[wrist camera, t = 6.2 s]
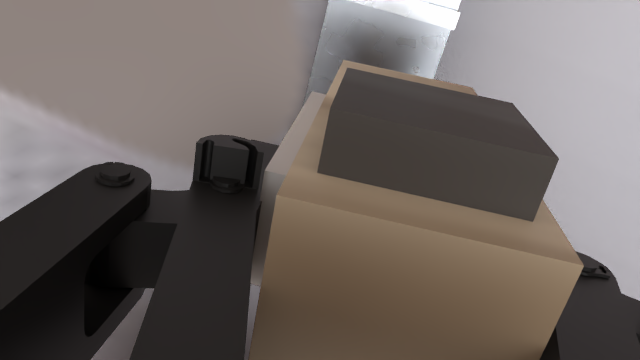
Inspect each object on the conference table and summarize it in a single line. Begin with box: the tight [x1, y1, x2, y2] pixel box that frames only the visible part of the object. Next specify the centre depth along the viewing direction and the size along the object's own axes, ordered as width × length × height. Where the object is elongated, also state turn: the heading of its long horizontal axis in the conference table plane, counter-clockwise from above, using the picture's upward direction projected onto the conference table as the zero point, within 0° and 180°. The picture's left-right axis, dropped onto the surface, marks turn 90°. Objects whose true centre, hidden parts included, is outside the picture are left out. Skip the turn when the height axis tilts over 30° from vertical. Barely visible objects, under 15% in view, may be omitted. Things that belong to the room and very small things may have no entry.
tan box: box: [248, 60, 584, 360], centre depth 12 cm, size 6×4×10 cm, turn 169°
